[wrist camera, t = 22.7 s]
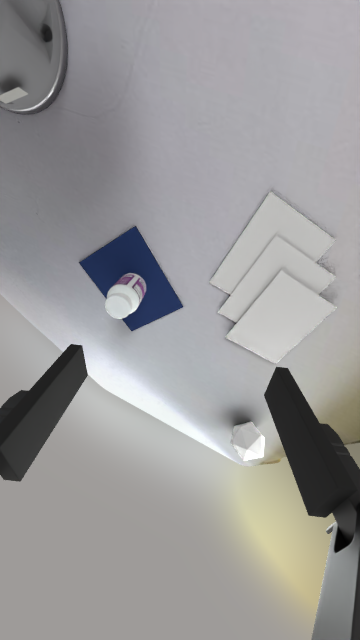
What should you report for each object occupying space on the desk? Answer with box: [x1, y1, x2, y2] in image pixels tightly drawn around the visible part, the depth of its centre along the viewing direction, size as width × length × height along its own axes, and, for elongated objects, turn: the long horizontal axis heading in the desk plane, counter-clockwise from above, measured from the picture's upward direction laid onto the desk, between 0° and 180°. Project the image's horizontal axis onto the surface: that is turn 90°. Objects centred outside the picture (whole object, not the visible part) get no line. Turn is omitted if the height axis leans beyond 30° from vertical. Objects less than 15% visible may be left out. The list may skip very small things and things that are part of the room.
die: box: [230, 421, 265, 461], centre depth 55 cm, size 8×9×10 cm
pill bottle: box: [105, 273, 146, 319], centre depth 35 cm, size 5×5×10 cm
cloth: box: [79, 226, 183, 331], centre depth 39 cm, size 17×13×1 cm
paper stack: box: [209, 191, 337, 364], centre depth 38 cm, size 23×25×1 cm
